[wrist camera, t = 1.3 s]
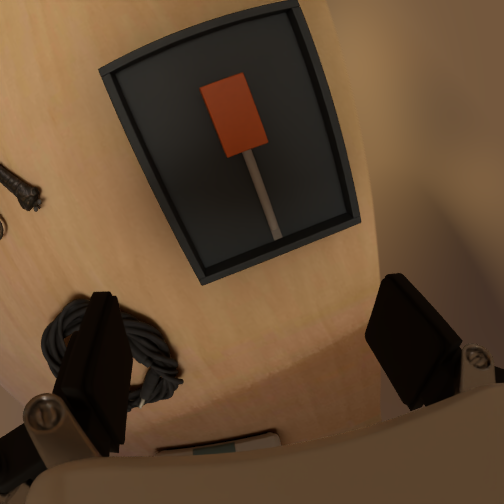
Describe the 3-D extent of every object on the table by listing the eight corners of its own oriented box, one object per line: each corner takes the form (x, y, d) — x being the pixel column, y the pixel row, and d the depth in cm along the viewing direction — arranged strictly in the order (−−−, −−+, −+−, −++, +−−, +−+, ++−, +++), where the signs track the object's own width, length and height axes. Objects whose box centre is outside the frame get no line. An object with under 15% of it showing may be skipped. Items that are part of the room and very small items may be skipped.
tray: (105, 70, 19) (97, 69, 17) (289, 5, 19) (297, -2, 17) (201, 273, 29) (201, 286, 27) (351, 213, 28) (361, 222, 26)
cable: (30, 300, 27) (15, 327, 23) (148, 277, 28) (143, 306, 24) (96, 399, 35) (92, 425, 31) (193, 389, 36) (195, 417, 33)
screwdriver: (198, 88, 20) (199, 87, 18) (237, 74, 20) (243, 71, 18) (257, 237, 27) (264, 254, 25) (290, 224, 27) (300, 239, 24)
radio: (275, 425, 44) (307, 538, 27) (281, 444, 48) (309, 542, 31) (151, 446, 43) (156, 554, 25) (170, 464, 47) (177, 558, 29)
